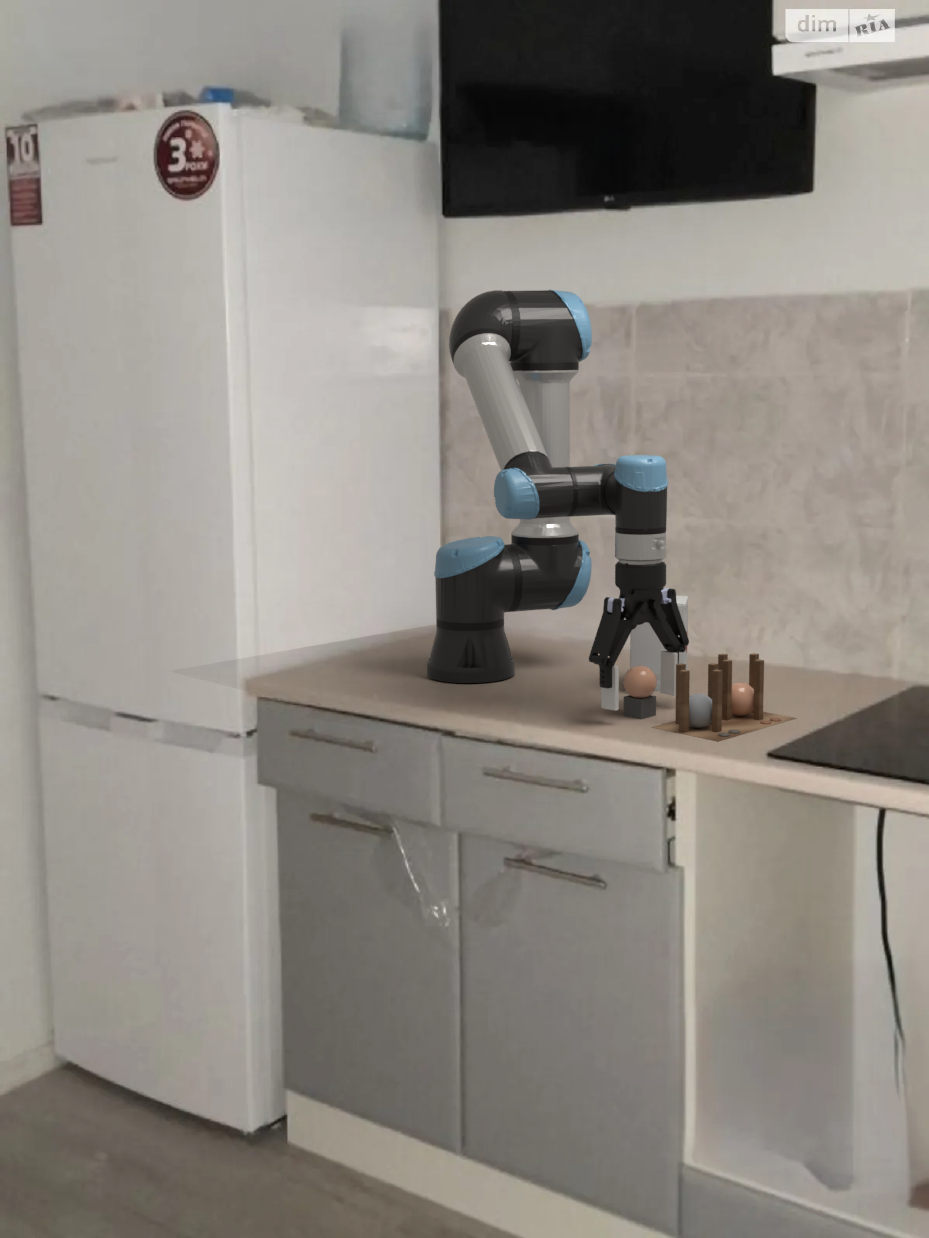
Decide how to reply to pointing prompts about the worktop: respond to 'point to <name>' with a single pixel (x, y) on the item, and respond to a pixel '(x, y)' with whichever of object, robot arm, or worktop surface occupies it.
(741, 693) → the ball
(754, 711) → the rack
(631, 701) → the stand
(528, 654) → the worktop surface
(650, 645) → the supplement box
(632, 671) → the ball loose
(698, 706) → the ball
